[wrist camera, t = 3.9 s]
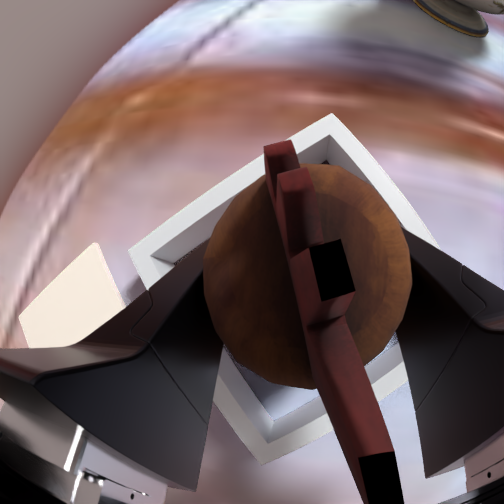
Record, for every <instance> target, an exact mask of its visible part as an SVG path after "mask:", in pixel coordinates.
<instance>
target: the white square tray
mask: <svg viewBox="0 0 504 504" xmlns="http://www.w3.org/2000/svg"><path fill="white" fill-rule="evenodd" d="M290 139H291V140H292V142H293V145H294V148H295V151H296V154H297V157H298V161H299V163H308V164H321V163H322V162H324V161H326V160H327V161H328V162H329V164H330V165H339V166H341V167H342V168H344V169H346V170H347V171H349V172H351V173H352V174H354V175H355V176H357V177H359V178H360V179H362V180H363V181H365V182H367V183H368V184H370V185H371V186H372V187H373V188H374V189H375V190H376V191H377V193H378V194H379V195H380V196H381V197H382V198H383V200H384V201H385V202H386V203H387V205H388V206H389V207H390V208H391V210H392V211H393V212H394V213H395V215H396V217H397V219H398V221H399V224H400V226H401V227H402V228H404V229H406V230H408V231H409V232H411V233H413V234H414V235H416V236H418V237H420V238H421V239H423V240H425V241H426V242H428V243H430V244H431V245H433V246H435V247H436V248H438V249H439V250H441V249H440V247H439V246H438V244H437V243H436V241H435V240H434V238H433V237H432V235H431V233H430V232H429V230H428V229H427V228H426V226H425V225H424V223H423V222H422V220H421V219H420V217H419V216H418V215H417V213H416V212H415V210H414V209H413V208H412V206H411V205H410V203H409V202H408V201H407V199H406V198H405V197H404V195H403V194H402V193H401V191H400V190H399V189H398V187H397V186H396V185H395V184H394V182H393V181H392V180H391V179H390V177H389V176H388V175H387V174H386V172H385V171H384V170H383V169H382V167H381V166H380V165H379V164H378V163H377V161H376V160H375V159H374V158H373V157H372V156H371V154H370V153H369V152H368V151H367V150H366V149H365V148H364V146H363V145H362V144H361V143H360V142H359V141H358V140H357V139H356V137H355V136H354V135H353V134H352V133H351V132H350V131H349V130H348V129H347V128H346V127H345V126H344V125H343V124H342V123H341V121H340V120H339V119H338V118H337V117H336V116H335V115H334V114H333V113H331V114H329V115H328V116H326V117H324V118H322V119H320V120H319V121H317V122H315V123H314V124H312V125H310V126H308V127H307V128H305V129H303V130H302V131H300V132H298V133H297V134H295V135H293V136H292V137H290V138H288V139H287V140H290ZM285 141H286V140H285ZM264 174H265V165H264V154H263V155H261V156H260V157H258V158H256V159H255V160H253V161H252V162H250V163H249V164H247V165H246V166H244V167H243V168H241V169H240V170H238V171H237V172H235V173H234V174H232V175H231V176H229V177H228V178H226V179H225V180H223V181H222V182H220V183H219V184H217V185H216V186H214V187H213V188H212V189H210V190H209V191H207V192H206V193H204V194H203V195H202V196H200V197H199V198H197V199H196V200H194V201H193V202H192V203H190V204H189V205H187V206H186V207H185V208H183V209H182V210H181V211H179V212H178V213H176V214H175V215H174V216H172V217H171V218H170V219H168V220H167V221H166V222H164V223H163V224H162V225H160V226H159V227H158V228H156V229H155V230H154V231H152V232H151V233H150V234H149V235H147V236H146V237H145V238H143V239H142V240H141V241H139V242H138V243H137V244H136V245H134V246H133V247H132V248H131V249H129V250H128V253H129V255H130V257H131V259H132V261H133V263H134V265H135V267H136V269H137V271H138V273H139V275H140V277H141V279H142V281H143V283H144V285H145V287H146V289H147V290H148V289H149V288H150V287H151V286H152V285H153V284H154V283H155V282H157V281H158V280H159V279H160V278H161V277H163V276H164V275H165V274H166V273H168V272H169V271H170V270H171V269H172V268H174V267H175V265H174V263H175V262H176V261H177V260H179V259H180V258H182V257H183V256H184V255H186V254H187V253H189V252H190V251H192V250H193V249H194V248H196V247H197V246H199V245H200V244H201V243H203V242H204V241H206V240H207V239H209V238H210V237H211V235H212V232H213V230H214V227H215V225H216V224H217V222H218V221H219V219H220V218H221V216H222V215H223V213H224V212H225V210H226V209H227V208H228V206H229V205H230V203H231V202H232V200H233V199H234V197H235V196H237V195H238V194H239V193H241V192H242V191H243V190H244V189H246V188H247V187H248V186H249V185H251V184H252V183H253V182H255V181H256V180H257V179H258V178H260V177H261V176H262V175H264ZM148 291H149V290H148ZM365 370H366V373H367V375H368V378H369V380H370V383H371V386H372V388H373V391H374V394H375V396H376V399H377V402H379V401H381V400H382V399H383V398H385V397H386V396H388V395H389V394H391V393H392V392H393V391H395V390H396V389H397V388H399V387H400V386H401V385H403V384H404V383H405V382H407V381H408V377H407V373H406V369H405V365H404V361H403V357H402V353H401V349H400V346H399V342H398V343H396V344H395V345H394V346H392V347H391V348H390V349H389V350H387V351H386V352H385V353H383V354H382V355H380V356H379V357H378V358H376V359H375V360H374V361H372V362H371V363H369V364H368V365H367V366H365ZM213 402H214V403H215V404H216V406H217V407H218V409H219V410H220V412H221V413H222V415H223V416H224V417H225V419H226V420H227V422H228V423H229V424H230V426H231V427H232V428H233V430H234V431H235V433H236V434H237V435H238V437H239V438H240V439H241V441H242V442H243V443H244V444H245V446H246V447H247V448H248V450H249V451H250V452H251V453H252V455H253V456H254V457H255V459H256V460H257V461H258V462H259V464H260V465H264V464H266V463H268V462H271V461H273V460H275V459H277V458H280V457H282V456H284V455H286V454H288V453H290V452H292V451H295V450H297V449H299V448H301V447H303V446H305V445H307V444H309V443H311V442H312V441H314V440H316V439H318V438H320V437H322V436H324V435H326V434H327V433H329V432H331V431H333V430H334V429H333V426H332V424H331V422H330V419H329V417H328V414H327V412H326V409H325V407H324V404H323V402H322V400H321V397H320V396H319V397H317V398H315V399H314V400H312V401H310V402H308V403H307V404H305V405H303V406H301V407H300V408H298V409H296V410H294V411H292V412H291V413H289V414H287V415H285V416H283V417H281V418H279V419H277V420H275V421H273V419H272V418H271V417H270V415H269V414H268V413H267V411H266V410H265V408H264V407H263V405H262V404H261V403H260V401H259V400H258V398H257V397H256V395H255V394H254V393H253V391H252V390H251V388H250V387H249V385H248V384H247V382H246V381H245V379H244V378H243V376H242V375H241V373H240V372H239V370H238V369H237V367H236V366H235V364H234V363H233V361H232V360H231V358H230V357H229V355H228V353H227V352H226V350H225V349H224V347H223V350H222V355H221V360H220V365H219V370H218V375H217V381H216V386H215V391H214V396H213Z"/></svg>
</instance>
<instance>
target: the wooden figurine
mask: <svg viewBox="0 0 504 504" xmlns="http://www.w3.org/2000/svg"><path fill="white" fill-rule="evenodd" d="M264 165H265V174H264V175H262V176H261V177H260V178H258V179H257V180H256V181H255V182H253V183H252V184H251V185H249V186H248V187H247V188H246V189H244V190H243V191H242V192H241V193H239V194H238V195H237V196H235V197H234V199H233V200H232V202H231V203H230V205H229V206H228V208H227V209H226V210H225V212H224V213H223V215H222V216H221V218H220V219H219V221H218V222H217V224H216V225H215V227H214V230H213V232H212V235H211V238H210V241H209V243H208V246H207V249H206V252H205V255H204V257H203V279H204V296H205V299H206V303H207V306H208V309H209V312H210V316H211V319H212V322H213V325H214V329H215V331H216V333H217V334H218V335H219V337H220V338H221V340H222V341H223V343H224V344H225V345H226V347H227V348H228V350H229V351H230V353H231V354H232V355H233V357H234V358H235V360H236V361H237V362H238V363H239V364H241V365H243V366H244V367H246V368H247V369H249V370H251V371H252V372H254V373H256V374H257V375H259V376H261V377H262V378H264V379H266V380H267V381H269V382H271V383H274V384H280V385H285V386H291V387H297V388H304V389H311V390H313V389H316V388H317V389H318V392H319V394H320V397H321V400H322V402H323V404H324V407H325V409H326V412H327V414H328V417H329V419H330V422H331V424H332V426H333V429H334V431H335V434H336V436H337V439H338V441H339V444H340V446H341V449H342V451H343V453H344V456H345V458H346V461H347V463H348V466H349V468H350V471H351V473H352V476H353V478H354V481H355V483H356V486H357V488H358V491H359V493H360V496H361V498H362V501H363V503H364V504H404V499H403V494H402V488H401V483H400V477H399V472H398V467H397V462H396V457H395V452H394V448H393V445H392V442H391V439H390V436H389V433H388V430H387V427H386V425H385V422H384V419H383V416H382V413H381V410H380V408H379V405H378V402H377V399H376V396H375V394H374V391H373V388H372V386H371V383H370V380H369V378H368V375H367V373H366V370H365V367H364V366H365V365H366V364H368V363H369V362H370V361H371V360H372V359H374V358H375V357H376V356H377V355H378V354H380V353H381V352H382V351H383V350H384V348H385V347H386V345H387V344H388V342H389V341H390V339H391V337H392V336H393V334H394V333H395V331H396V329H397V328H398V326H399V324H400V323H401V321H402V319H403V316H404V313H405V309H406V306H407V302H408V299H409V295H410V291H411V287H412V273H411V263H410V253H409V247H408V244H407V242H406V239H405V237H404V234H403V231H402V229H401V226H400V224H399V221H398V219H397V217H396V215H395V213H394V212H393V211H392V210H391V208H390V207H389V206H388V205H387V203H386V202H385V201H384V200H383V198H382V197H381V196H380V195H379V194H378V193H377V191H376V190H375V189H374V188H373V187H372V186H371V185H370V184H368V183H367V182H365V181H363V180H362V179H360V178H359V177H357V176H355V175H354V174H352V173H351V172H349V171H347V170H346V169H344V168H342V167H341V166H339V165H325V164H308V163H299V161H298V157H297V154H296V151H295V148H294V145H293V142H292V140H291V139H290V140H286V141H282V142H278V143H274V144H271V145H267V146H264Z"/></svg>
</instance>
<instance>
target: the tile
mask: <svg viewBox="0 0 504 504" xmlns="http://www.w3.org/2000/svg"><path fill="white" fill-rule="evenodd" d="M125 307H126V305H125V303H124V301H123V299H122V297H121V295H120V293H119V290H118V288H117V286H116V284H115V282H114V280H113V277H112V275H111V273H110V271H109V268H108V266H107V264H106V261H105V259H104V257H103V254H102V252H101V249H100V247H99V244H98V243H95V242H94V243H92V244H91V245H90V246H89V247H88V248H87V249H86V250H85V251H84V252H82V253H81V254H80V255H79V256H78V257H77V258H76V259H75V260H74V261H73V262H72V263H71V264H70V265H69V266H67V267H66V268H65V269H64V270H63V271H62V272H61V273H60V274H59V275H58V276H57V277H56V278H55V279H54V280H53V281H52V282H51V283H50V284H49V285H48V286H47V287H46V288H45V289H44V290H43V291H42V292H41V293H40V294H39V295H38V296H37V297H36V298H35V299H34V301H33V302H32V303H31V304H30V305H29V306H28V307H27V308H26V309H25V310H24V311H23V312H22V313H21V315H20V316H19V320H20V323H21V326H22V329H23V332H24V335H25V338H26V341H27V343H28V346H29V348H50V347H65V346H69V345H72V344H75V343H77V342H79V341H81V340H82V339H84V338H85V337H86V336H88V335H89V334H90V333H92V332H93V331H95V330H96V329H97V328H99V327H100V326H101V325H103V324H104V323H105V322H107V321H108V320H109V319H111V318H112V317H113V316H115V315H116V314H117V313H119V312H120V311H121V310H123V309H124V308H125Z"/></svg>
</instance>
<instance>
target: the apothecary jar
mask: <svg viewBox="0 0 504 504" xmlns="http://www.w3.org/2000/svg"><path fill="white" fill-rule="evenodd" d="M413 1H414V2H415V3H416V4H417V5H418V6H419V7H420V8H421V9H422V10H423V11H425V12H426V13H427V14H429V15H430V16H431V17H433V18H434V19H436V20H438V21H439V22H441V23H443V24H445V25H447V26H448V27H450V28H453V29H455V30H457V31H459V32H462V33H465V34H468V35H471V36H475V37H483V36H486V35H487V33H488V26H487V23H486V22H485V20H484V18H483V17H482V16H481V15H480V13H479V12H478V11H482V12H486V13H490V14H504V0H413ZM477 10H478V11H477Z"/></svg>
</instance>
